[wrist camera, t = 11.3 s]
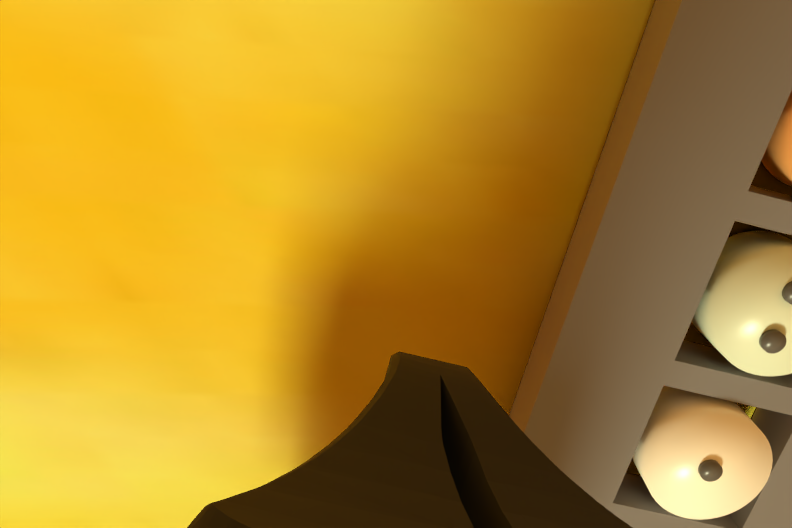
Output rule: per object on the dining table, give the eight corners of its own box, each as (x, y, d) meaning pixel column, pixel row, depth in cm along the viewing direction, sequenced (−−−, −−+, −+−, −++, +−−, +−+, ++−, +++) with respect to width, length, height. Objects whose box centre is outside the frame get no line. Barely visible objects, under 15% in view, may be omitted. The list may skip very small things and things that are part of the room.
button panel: (744, 528, 25) (772, 568, 23) (489, 471, 24) (496, 508, 23) (1000, 36, 19) (1065, 37, 17) (674, -55, 19) (705, -65, 17)
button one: (713, 489, 24) (744, 534, 22) (609, 466, 24) (629, 509, 22) (759, 395, 23) (797, 433, 21) (649, 369, 23) (676, 405, 20)
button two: (778, 357, 22) (818, 392, 20) (666, 330, 22) (695, 362, 20) (832, 247, 21) (881, 272, 19) (714, 217, 21) (750, 238, 19)
